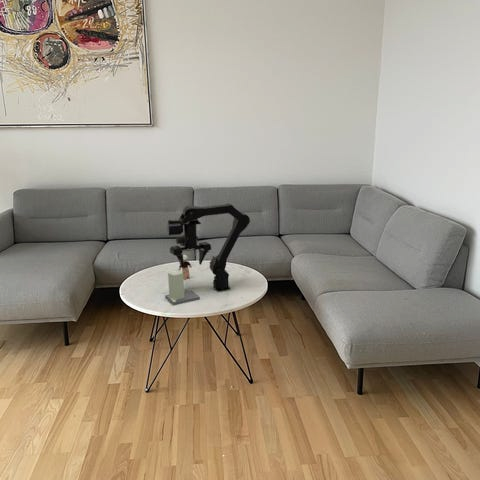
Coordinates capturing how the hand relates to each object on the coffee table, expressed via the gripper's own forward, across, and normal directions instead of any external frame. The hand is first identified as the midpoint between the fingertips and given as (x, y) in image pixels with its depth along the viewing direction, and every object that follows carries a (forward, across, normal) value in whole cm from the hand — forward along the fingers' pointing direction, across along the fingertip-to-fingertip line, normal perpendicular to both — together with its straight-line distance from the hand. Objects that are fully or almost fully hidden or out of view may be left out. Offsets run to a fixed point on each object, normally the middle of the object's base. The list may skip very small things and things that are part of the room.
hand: (191, 265), depth 209 cm
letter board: (+13, +7, +5) cm, 16 cm away
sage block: (+12, +10, +6) cm, 16 cm away
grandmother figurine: (+13, -5, -19) cm, 24 cm away
